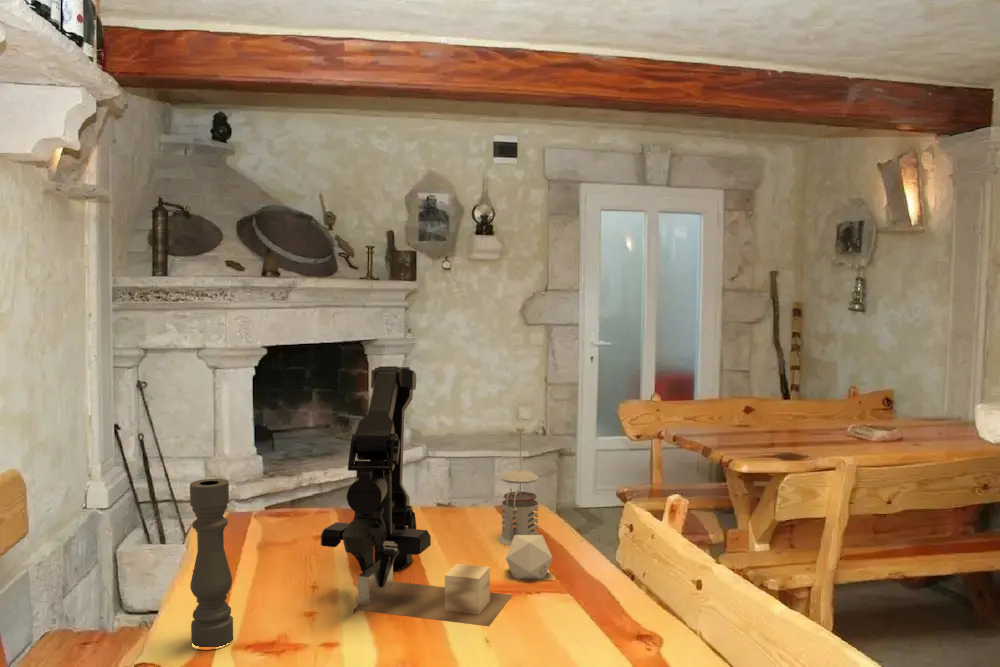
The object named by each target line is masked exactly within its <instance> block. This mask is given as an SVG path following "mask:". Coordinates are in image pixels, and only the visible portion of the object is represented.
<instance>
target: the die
mask: <svg viewBox="0 0 1000 667" xmlns="http://www.w3.org/2000/svg"><path fill="white" fill-rule="evenodd" d="M507 552H508V553H507V554H506V558H505V560H506V562H507V565H508V568H509V571H510V572H511V575H512V578H514V579H518V580H541V579H544V578H546V576H547V573H548V570H549V568H550V565H551V563H552V560H553V556H552V553H551V551H550V549H549V547H548V545H547V542H546V540H545V537H544V536H543V534H538V535H514V538H513V541H512V544H511V546H509V550H508V551H507Z"/></svg>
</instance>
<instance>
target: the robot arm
mask: <svg viewBox="0 0 1000 667" xmlns="http://www.w3.org/2000/svg"><path fill="white" fill-rule="evenodd" d="M370 374H371V379H370V381H371V382H370V388H371V389H372V393H371V398H370V401H369V402H370V403H369V407H368V411H367V414H366V416H364V417H363V418H362V419H360V420H359V421H358V423H357V425H356V429H355V432H354V433H352V435H351V438H350V439H351V440H350V448H349V455H348V462H347V463H348V464H347V471H352V472H353V471H354V472H355V471H356V478H355V480H354V481H353V482H352V483H351V485H350V486H349V487H348V490H347V493H346V501H347V504H348V506H349V508H350V509H351V510H353V511H354V516H353V520H352V521H350V522H348V523H347V522H338V521H337V522H334V523H332V524H331V525H329V526H327V527H325V528H324V529H323V530H322V532H321V534H320V545H321V546H322V547H331V548H336V547H338V546H339V544H340V543H341V542H342V541H343V543H344V548H345V552H346V553H349V554H351V556H354V557H355V559H356V561H357V563H358V564H359V567H360V569H361V572H362V573H363V572H364V571H366V570H367V569H368V568H370V567H371V566H372V565H374V564H375V563H376V562H378V561H379V560H380V587H384V585H385V583H386V580H387V578H388V575H389V573H390V570H391V567H392V565H393V571H394V570H395V571H402V570H403V569H404V568H406V567H407V566H408V565H410V564H411V562H413V560H414V558H413V555H414V556H416V555H420V554H422V553H423V552H424V551H426V550H427V549H428V548H429V547H430V546H431V545H432V540H431V539H432V538H431V534H430V533H429V531H428V530H427V529H417V519H416V517H417V516H416V513H415V512H414V510H413V506H412V505H410V503H411V502H410V495H409V494H408V493H407V492H408V491H406V488H405V487H404V485H403V472H404V471H403V470H404V469H403V466H404V465H403V464H404V437H405V436H404V432H405V411H406V410H407V408H408V407H409V405H410V404H411V402H412V401H413V396H414V391H415V390H417V389H416V388H417V374H416V372H415V371H414V370H413V369H411V367H410V366H405V367H404V366H398V365H396V366H395V365H390V366H389V365H386V366H383V365H381V366H380V365H379V366H378V367H374V369H371V373H370ZM356 458H357V460H356Z"/></svg>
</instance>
